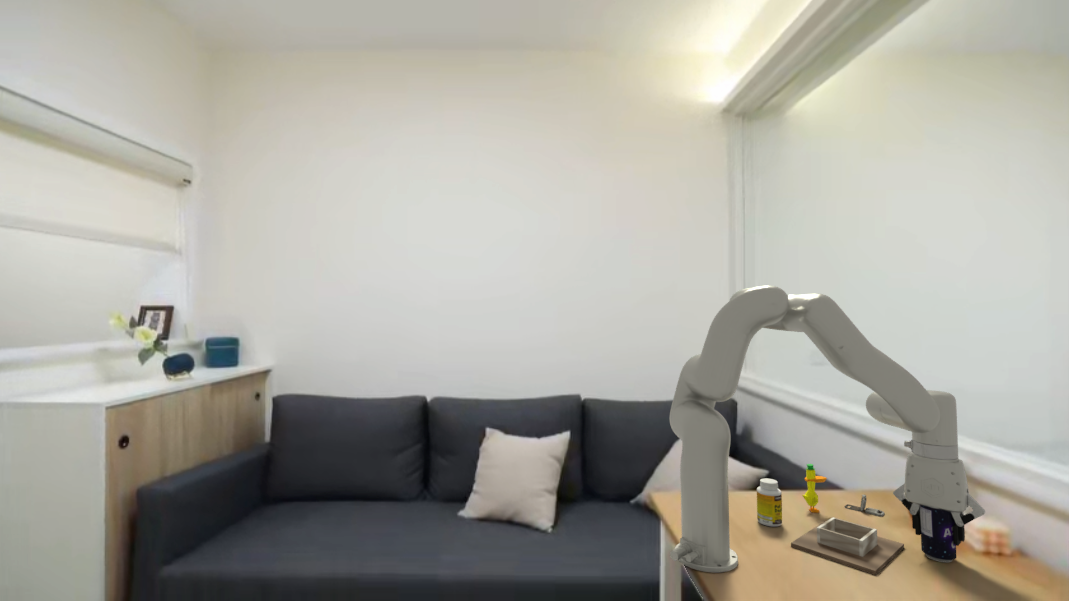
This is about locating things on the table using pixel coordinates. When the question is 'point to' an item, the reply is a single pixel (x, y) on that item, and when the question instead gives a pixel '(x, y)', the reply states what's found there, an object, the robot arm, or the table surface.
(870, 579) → the table surface
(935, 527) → the beverage can
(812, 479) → the toy figure
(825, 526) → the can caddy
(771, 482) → the supplement bottle
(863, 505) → the strap clip
